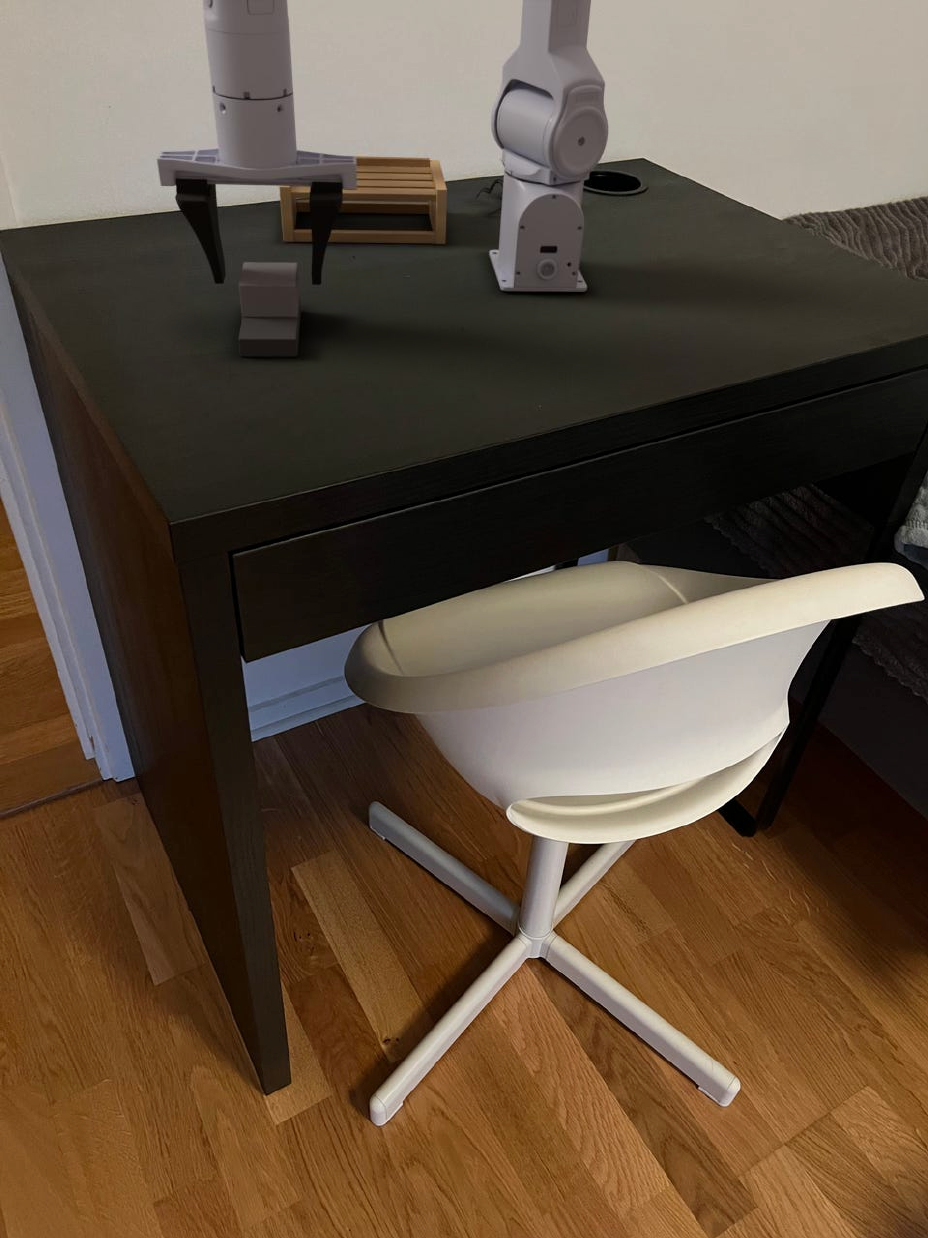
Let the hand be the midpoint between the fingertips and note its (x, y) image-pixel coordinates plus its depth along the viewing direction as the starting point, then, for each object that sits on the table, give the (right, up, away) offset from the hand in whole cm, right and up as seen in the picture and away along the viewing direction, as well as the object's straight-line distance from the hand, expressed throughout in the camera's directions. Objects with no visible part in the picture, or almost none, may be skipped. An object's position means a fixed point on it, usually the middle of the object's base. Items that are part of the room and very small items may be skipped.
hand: (268, 279), depth 76 cm
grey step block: (0, -4, +1) cm, 4 cm away
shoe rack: (+5, +13, +21) cm, 26 cm away
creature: (+21, +18, +28) cm, 39 cm away
